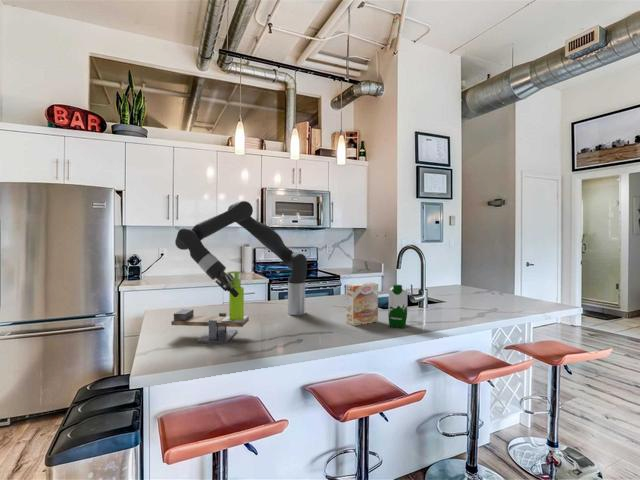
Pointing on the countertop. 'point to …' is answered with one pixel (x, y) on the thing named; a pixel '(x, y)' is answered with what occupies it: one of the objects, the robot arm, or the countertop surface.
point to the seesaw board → (205, 319)
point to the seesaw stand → (217, 333)
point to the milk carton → (397, 306)
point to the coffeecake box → (361, 303)
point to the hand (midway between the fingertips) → (239, 294)
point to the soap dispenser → (236, 299)
